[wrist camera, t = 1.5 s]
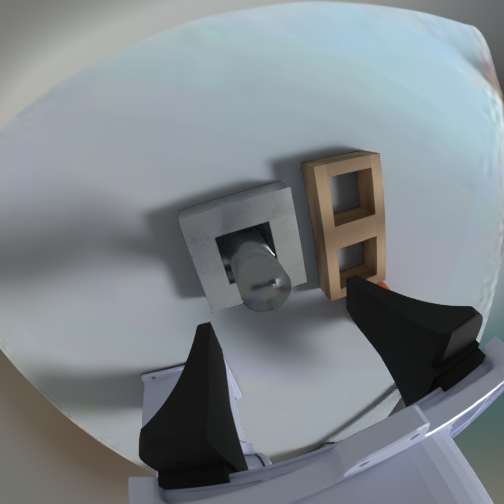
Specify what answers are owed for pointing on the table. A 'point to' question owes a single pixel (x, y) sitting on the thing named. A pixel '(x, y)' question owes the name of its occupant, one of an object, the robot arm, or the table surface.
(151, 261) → the table surface
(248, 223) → the socket block
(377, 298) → the robot arm
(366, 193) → the rack
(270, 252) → the grey metal cylinder
